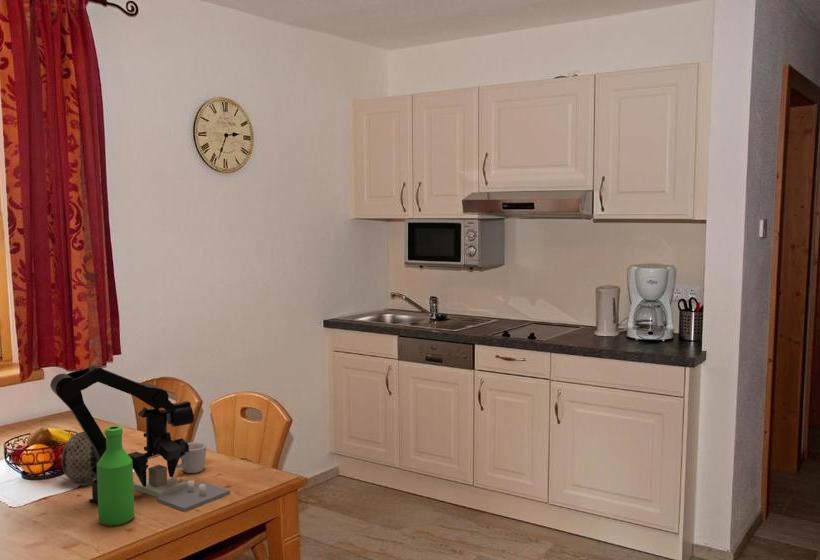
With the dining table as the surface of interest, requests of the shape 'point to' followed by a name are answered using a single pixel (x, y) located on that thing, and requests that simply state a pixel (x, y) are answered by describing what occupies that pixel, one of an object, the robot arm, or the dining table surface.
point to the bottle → (115, 481)
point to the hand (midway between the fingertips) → (158, 481)
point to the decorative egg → (78, 458)
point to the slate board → (193, 496)
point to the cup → (194, 458)
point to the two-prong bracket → (159, 483)
